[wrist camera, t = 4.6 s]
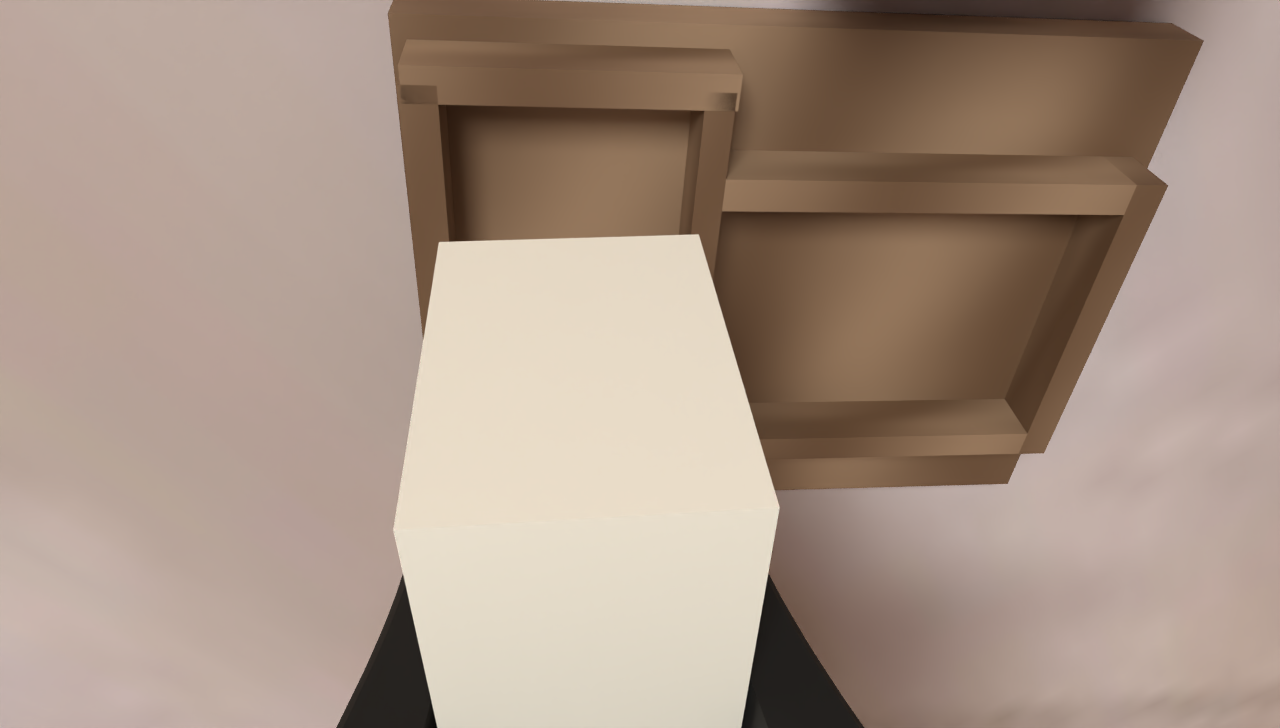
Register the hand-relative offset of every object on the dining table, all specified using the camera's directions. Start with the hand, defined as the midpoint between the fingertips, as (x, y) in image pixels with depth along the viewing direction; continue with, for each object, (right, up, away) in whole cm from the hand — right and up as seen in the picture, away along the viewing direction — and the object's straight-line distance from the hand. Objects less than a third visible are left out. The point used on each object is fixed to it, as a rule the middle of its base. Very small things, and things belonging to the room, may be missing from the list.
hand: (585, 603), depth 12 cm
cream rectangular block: (0, +2, +1) cm, 2 cm away
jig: (+3, +5, +7) cm, 9 cm away
